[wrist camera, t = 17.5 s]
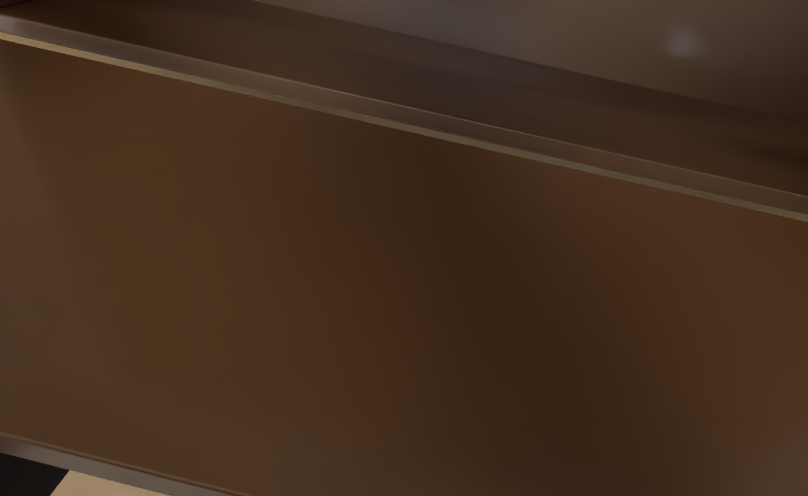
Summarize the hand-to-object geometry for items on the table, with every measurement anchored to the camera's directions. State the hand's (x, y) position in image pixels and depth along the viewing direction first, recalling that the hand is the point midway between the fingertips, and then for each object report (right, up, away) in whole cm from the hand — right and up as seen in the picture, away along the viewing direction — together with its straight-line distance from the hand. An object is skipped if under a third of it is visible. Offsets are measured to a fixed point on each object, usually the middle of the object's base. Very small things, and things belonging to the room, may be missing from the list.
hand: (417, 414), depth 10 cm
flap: (0, +2, -2) cm, 3 cm away
